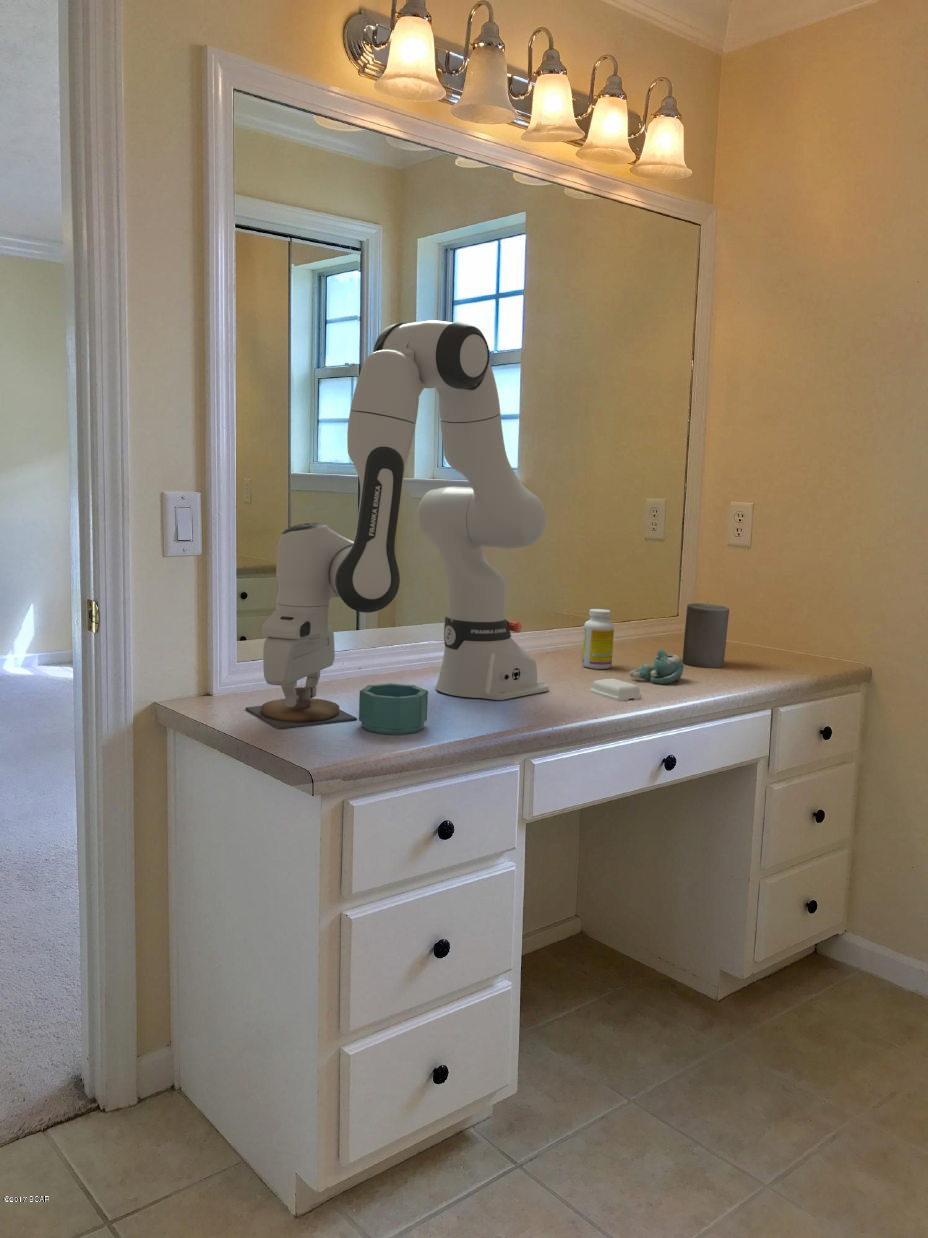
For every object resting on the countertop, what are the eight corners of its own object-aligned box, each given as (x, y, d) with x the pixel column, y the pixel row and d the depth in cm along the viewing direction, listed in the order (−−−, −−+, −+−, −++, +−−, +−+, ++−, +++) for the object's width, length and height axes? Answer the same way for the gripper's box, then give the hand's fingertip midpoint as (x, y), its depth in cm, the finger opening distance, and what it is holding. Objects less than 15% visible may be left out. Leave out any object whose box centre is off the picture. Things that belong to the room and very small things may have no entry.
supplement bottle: (617, 668, 218) (621, 611, 216) (595, 670, 215) (599, 613, 213) (597, 663, 224) (601, 607, 222) (575, 665, 220) (579, 608, 218)
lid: (318, 700, 174) (319, 678, 173) (352, 717, 163) (353, 693, 163) (249, 708, 167) (249, 685, 166) (280, 725, 156) (280, 701, 155)
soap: (644, 699, 190) (645, 685, 189) (618, 703, 186) (619, 688, 186) (612, 690, 197) (613, 676, 197) (586, 693, 193) (587, 679, 193)
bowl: (404, 715, 167) (405, 681, 167) (436, 730, 159) (438, 694, 158) (349, 722, 162) (350, 686, 161) (380, 737, 153) (381, 700, 152)
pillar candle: (673, 662, 229) (679, 599, 226) (697, 658, 235) (703, 596, 233) (708, 670, 222) (714, 605, 219) (732, 665, 228) (738, 602, 226)
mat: (320, 702, 175) (320, 699, 175) (356, 720, 163) (356, 717, 163) (245, 709, 167) (245, 707, 167) (278, 729, 155) (278, 726, 155)
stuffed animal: (618, 651, 210) (667, 640, 213) (621, 683, 211) (670, 671, 215) (642, 661, 200) (693, 649, 203) (645, 694, 201) (696, 682, 205)
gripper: (311, 611, 173) (310, 687, 175) (256, 627, 154) (255, 712, 156) (344, 614, 172) (342, 691, 174) (293, 630, 152) (291, 717, 154)
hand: (300, 701), depth 165 cm, fingers open, 5 cm apart
